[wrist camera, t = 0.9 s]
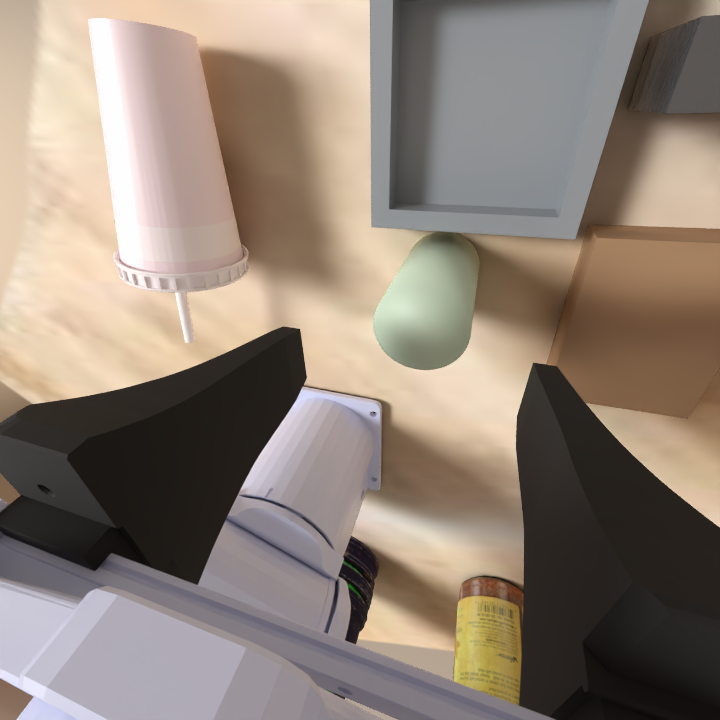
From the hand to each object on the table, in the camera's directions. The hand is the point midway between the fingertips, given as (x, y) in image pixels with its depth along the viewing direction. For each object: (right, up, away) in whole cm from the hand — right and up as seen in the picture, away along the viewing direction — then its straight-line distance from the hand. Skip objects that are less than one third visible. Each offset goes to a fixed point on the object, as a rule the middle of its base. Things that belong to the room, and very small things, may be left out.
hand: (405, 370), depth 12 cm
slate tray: (+4, +10, +3) cm, 11 cm away
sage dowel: (+3, +5, +7) cm, 9 cm away
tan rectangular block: (+12, +3, +6) cm, 13 cm away
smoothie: (-10, +13, +3) cm, 17 cm away
